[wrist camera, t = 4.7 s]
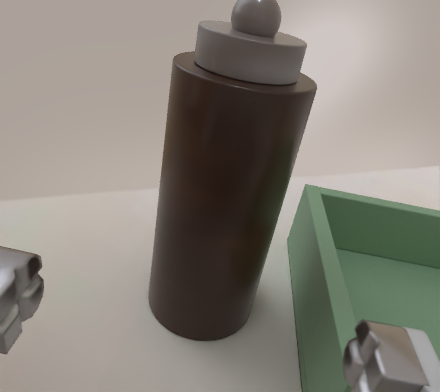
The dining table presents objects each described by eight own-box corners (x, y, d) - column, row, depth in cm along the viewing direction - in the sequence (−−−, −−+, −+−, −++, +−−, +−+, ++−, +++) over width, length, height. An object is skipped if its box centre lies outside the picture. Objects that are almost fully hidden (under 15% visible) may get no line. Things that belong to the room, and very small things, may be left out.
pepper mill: (135, 328, 16) (165, -25, 10) (161, 255, 21) (195, -24, 14) (249, 350, 16) (358, 12, 10) (251, 273, 21) (328, 2, 14)
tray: (308, 455, 13) (348, 384, 11) (287, 239, 24) (305, 183, 22) (663, 525, 13) (769, 467, 11) (482, 278, 24) (518, 225, 22)
